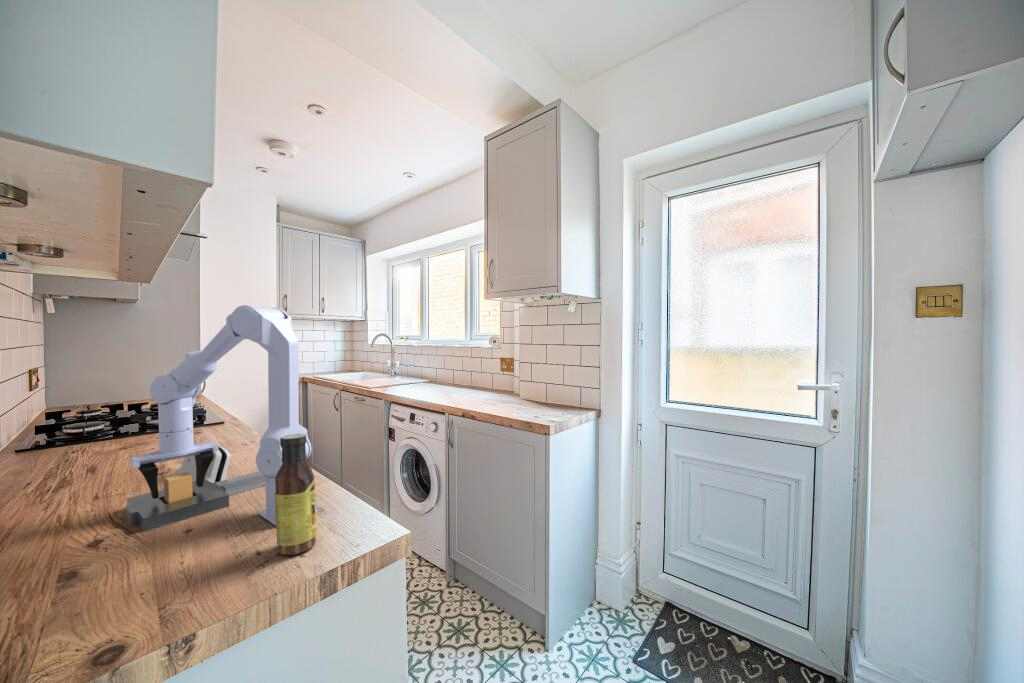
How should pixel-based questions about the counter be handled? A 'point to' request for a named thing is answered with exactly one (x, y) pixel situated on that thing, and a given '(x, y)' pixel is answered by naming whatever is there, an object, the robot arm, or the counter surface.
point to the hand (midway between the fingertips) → (178, 491)
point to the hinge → (215, 470)
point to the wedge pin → (177, 487)
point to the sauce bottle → (295, 498)
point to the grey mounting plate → (187, 501)
